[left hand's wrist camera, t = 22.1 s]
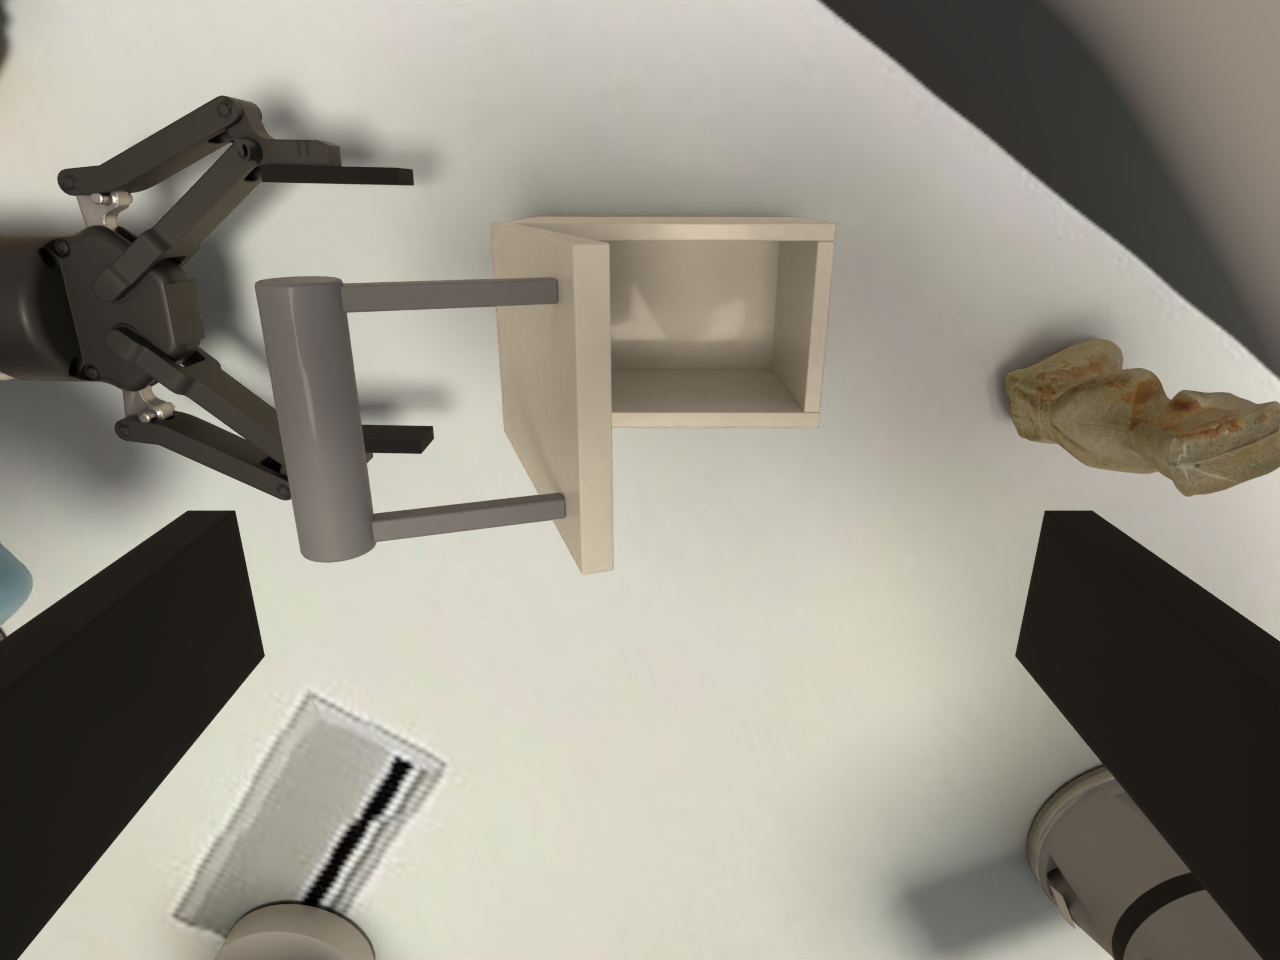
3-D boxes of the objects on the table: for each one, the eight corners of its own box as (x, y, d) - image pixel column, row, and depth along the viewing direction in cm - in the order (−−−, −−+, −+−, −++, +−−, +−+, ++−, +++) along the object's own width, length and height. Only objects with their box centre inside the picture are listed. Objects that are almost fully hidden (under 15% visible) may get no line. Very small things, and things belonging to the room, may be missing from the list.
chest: (792, 216, 44) (836, 223, 34) (781, 378, 48) (818, 427, 38) (535, 216, 44) (504, 222, 34) (542, 378, 48) (516, 427, 38)
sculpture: (1111, 409, 48) (1303, 497, 34) (997, 440, 49) (1141, 539, 35) (1103, 321, 46) (1304, 376, 32) (985, 355, 47) (1132, 423, 33)
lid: (610, 242, 20) (232, 249, 17) (614, 571, 23) (299, 617, 21) (513, 222, 34) (297, 224, 31) (524, 429, 37) (330, 447, 35)
